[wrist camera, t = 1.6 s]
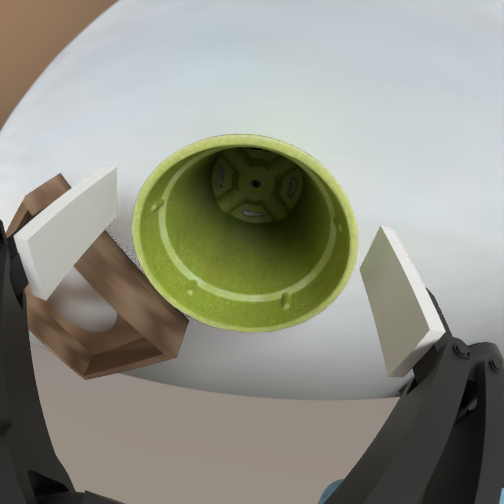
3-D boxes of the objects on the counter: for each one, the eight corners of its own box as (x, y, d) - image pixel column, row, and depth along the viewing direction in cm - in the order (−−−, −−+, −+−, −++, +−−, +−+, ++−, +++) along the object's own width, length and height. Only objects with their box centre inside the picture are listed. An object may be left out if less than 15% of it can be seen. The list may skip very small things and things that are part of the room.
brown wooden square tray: (189, 320, 27) (176, 357, 23) (98, 354, 34) (85, 379, 30) (60, 173, 19) (25, 195, 16) (6, 259, 26) (-15, 280, 22)
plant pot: (340, 122, 16) (386, 158, 9) (315, 249, 21) (326, 342, 14) (190, 106, 16) (121, 132, 9) (190, 234, 21) (147, 317, 14)
